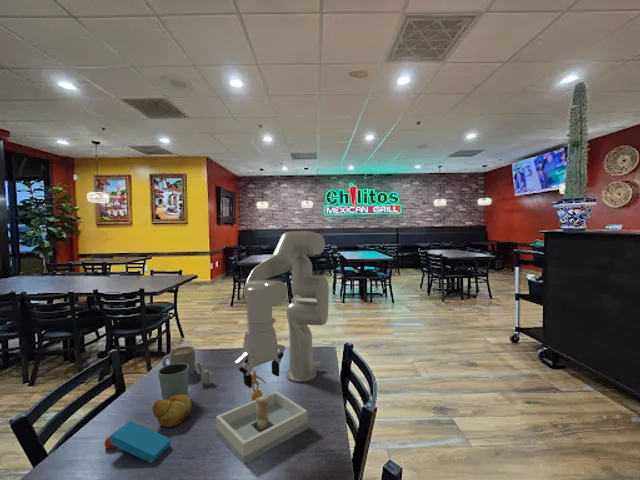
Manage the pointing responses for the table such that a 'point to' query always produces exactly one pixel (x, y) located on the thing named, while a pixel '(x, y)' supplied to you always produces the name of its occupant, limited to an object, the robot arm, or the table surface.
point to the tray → (242, 424)
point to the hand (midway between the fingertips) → (262, 380)
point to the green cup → (174, 380)
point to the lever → (138, 441)
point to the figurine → (257, 392)
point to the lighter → (204, 375)
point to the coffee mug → (182, 357)
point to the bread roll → (172, 410)
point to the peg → (262, 413)
